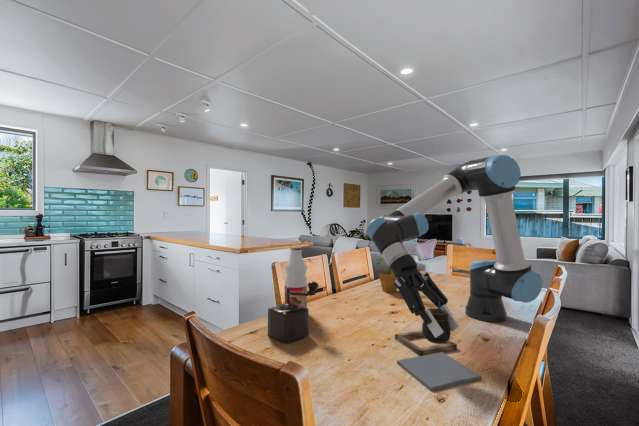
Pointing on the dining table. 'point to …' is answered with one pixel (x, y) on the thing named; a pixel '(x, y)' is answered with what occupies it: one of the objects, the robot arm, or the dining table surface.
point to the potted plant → (387, 279)
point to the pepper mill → (290, 318)
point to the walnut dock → (426, 350)
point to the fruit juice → (296, 277)
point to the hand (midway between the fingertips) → (447, 331)
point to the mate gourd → (443, 322)
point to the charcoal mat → (438, 370)
